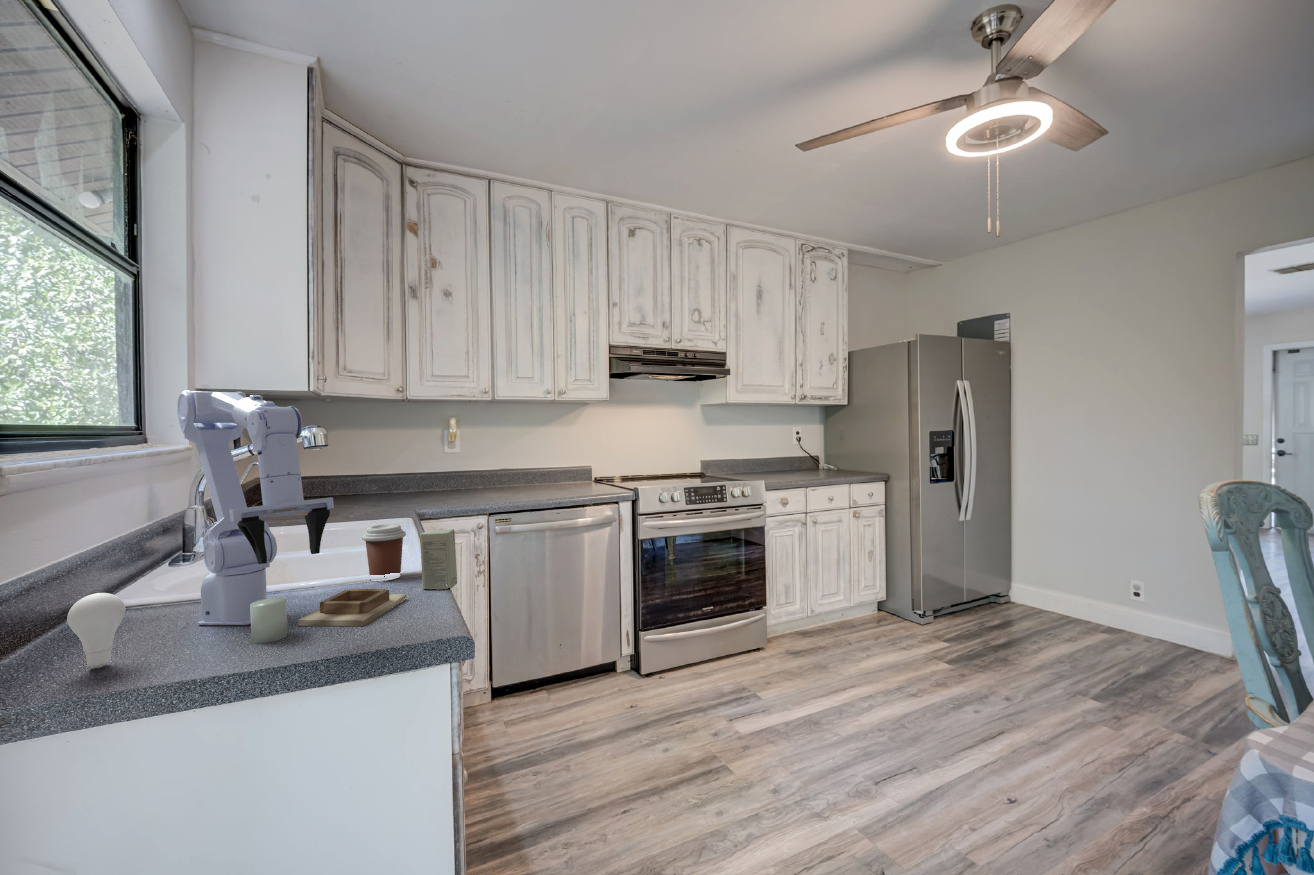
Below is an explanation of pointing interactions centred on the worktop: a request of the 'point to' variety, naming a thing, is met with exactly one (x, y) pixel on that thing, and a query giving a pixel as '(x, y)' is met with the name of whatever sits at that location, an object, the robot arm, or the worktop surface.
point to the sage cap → (268, 620)
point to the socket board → (352, 608)
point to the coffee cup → (384, 548)
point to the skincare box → (438, 559)
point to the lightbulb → (96, 625)
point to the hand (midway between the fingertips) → (289, 558)
